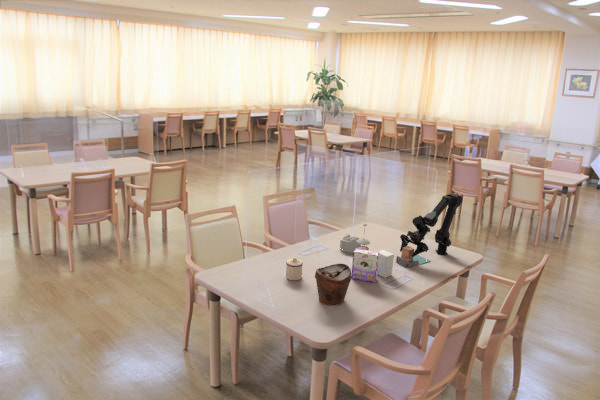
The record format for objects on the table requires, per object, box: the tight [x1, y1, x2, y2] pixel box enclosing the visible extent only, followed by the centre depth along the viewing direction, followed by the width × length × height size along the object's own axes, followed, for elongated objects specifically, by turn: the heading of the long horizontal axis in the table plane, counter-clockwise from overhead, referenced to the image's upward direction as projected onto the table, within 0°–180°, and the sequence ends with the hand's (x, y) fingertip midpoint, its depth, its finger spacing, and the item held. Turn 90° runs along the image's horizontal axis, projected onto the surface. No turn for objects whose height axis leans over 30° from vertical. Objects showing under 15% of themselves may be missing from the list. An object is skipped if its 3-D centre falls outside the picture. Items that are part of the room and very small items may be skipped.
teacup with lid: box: [285, 256, 303, 281], centre depth 273 cm, size 12×9×12 cm
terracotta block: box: [400, 245, 415, 262], centre depth 298 cm, size 5×5×10 cm
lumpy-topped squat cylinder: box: [339, 234, 362, 253], centre depth 315 cm, size 10×13×9 cm
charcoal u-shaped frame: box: [395, 255, 419, 268], centre depth 299 cm, size 10×9×4 cm
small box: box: [377, 249, 395, 278], centre depth 281 cm, size 8×6×13 cm
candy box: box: [351, 248, 380, 284], centre depth 274 cm, size 14×6×16 cm, turn 71°
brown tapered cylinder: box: [314, 263, 352, 307], centre depth 248 cm, size 18×20×18 cm
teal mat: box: [413, 254, 431, 266], centre depth 306 cm, size 10×11×1 cm
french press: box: [357, 223, 371, 251], centre depth 294 cm, size 10×12×25 cm
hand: (406, 253), depth 297 cm, fingers open, 9 cm apart
